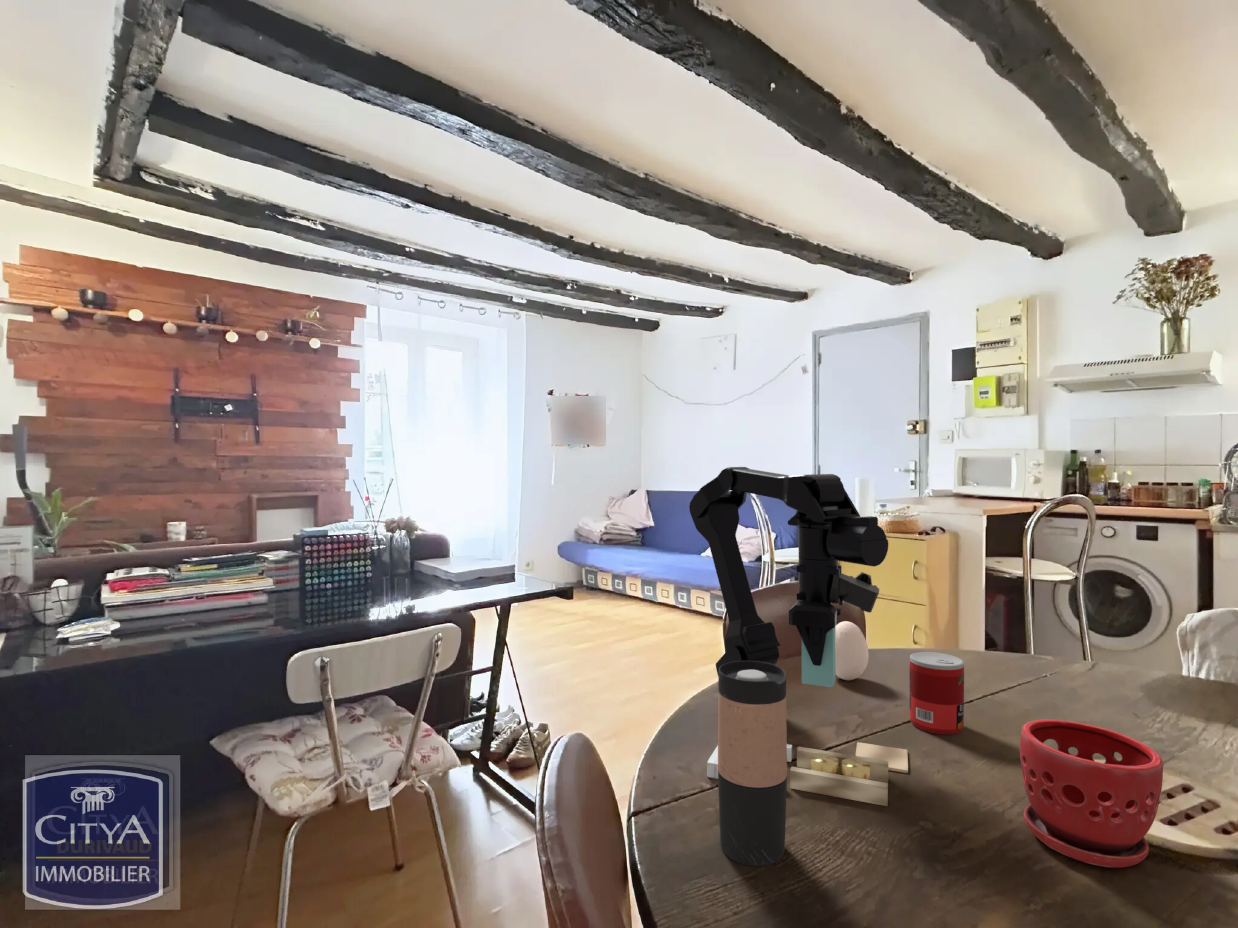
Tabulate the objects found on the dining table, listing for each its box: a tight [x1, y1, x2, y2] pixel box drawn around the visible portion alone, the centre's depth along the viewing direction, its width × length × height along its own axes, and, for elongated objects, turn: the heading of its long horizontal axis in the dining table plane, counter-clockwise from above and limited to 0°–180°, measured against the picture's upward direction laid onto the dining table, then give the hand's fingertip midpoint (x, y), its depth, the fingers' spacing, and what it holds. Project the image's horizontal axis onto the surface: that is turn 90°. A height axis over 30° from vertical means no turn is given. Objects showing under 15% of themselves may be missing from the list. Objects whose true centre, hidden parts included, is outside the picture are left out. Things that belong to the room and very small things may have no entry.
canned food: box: [909, 651, 965, 736], centre depth 108 cm, size 8×8×11 cm
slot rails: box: [789, 746, 889, 807], centre depth 89 cm, size 12×8×2 cm, turn 67°
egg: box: [835, 620, 869, 681], centre depth 131 cm, size 8×8×11 cm
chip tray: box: [706, 743, 793, 780], centre depth 94 cm, size 10×10×2 cm
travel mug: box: [717, 661, 788, 867], centre depth 75 cm, size 8×8×20 cm
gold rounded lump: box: [810, 753, 839, 775], centre depth 90 cm, size 4×4×3 cm
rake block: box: [801, 628, 837, 688], centre depth 100 cm, size 4×4×9 cm
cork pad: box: [854, 741, 909, 774], centre depth 97 cm, size 7×7×1 cm
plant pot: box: [1019, 718, 1164, 868], centre depth 75 cm, size 13×13×12 cm
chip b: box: [840, 758, 871, 780], centre depth 89 cm, size 4×4×3 cm
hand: (818, 660), depth 100 cm, fingers closed on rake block, 4 cm apart
